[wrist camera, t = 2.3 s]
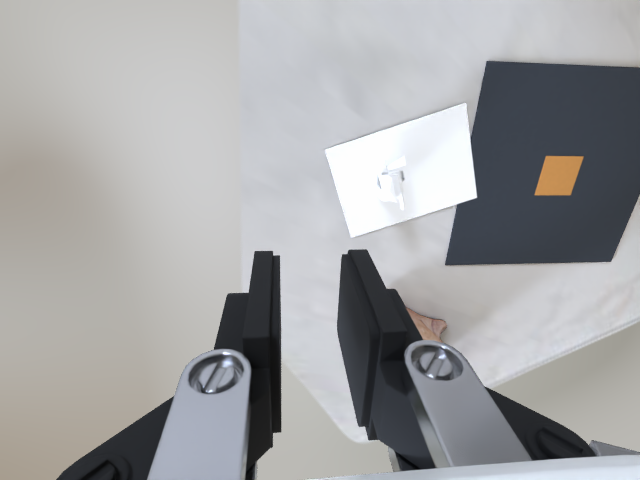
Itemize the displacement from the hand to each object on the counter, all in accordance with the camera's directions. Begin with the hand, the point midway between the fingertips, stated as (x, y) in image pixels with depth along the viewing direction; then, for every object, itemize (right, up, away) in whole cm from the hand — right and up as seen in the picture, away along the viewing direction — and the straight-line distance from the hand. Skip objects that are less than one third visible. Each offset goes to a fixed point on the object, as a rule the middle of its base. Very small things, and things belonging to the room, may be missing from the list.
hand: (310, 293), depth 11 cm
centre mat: (+18, +7, +16) cm, 25 cm away
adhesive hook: (+6, +7, +15) cm, 17 cm away
